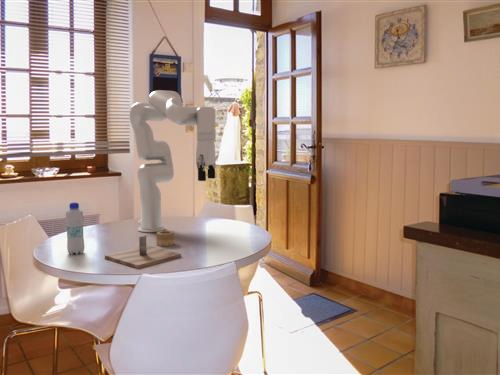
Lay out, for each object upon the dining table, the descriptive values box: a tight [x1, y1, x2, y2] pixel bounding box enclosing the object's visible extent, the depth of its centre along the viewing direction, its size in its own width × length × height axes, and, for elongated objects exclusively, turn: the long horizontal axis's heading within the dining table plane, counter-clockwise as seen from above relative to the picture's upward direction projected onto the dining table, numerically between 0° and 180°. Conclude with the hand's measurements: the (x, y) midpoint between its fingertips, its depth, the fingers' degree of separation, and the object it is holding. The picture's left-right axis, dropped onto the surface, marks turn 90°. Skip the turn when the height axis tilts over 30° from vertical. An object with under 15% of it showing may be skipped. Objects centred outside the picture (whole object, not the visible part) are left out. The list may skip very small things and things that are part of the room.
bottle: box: [64, 202, 85, 256], centre depth 186 cm, size 7×7×20 cm
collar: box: [156, 230, 175, 247], centre depth 202 cm, size 7×7×5 cm
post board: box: [104, 235, 182, 270], centre depth 181 cm, size 20×20×8 cm
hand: (206, 179), depth 198 cm, fingers open, 9 cm apart
